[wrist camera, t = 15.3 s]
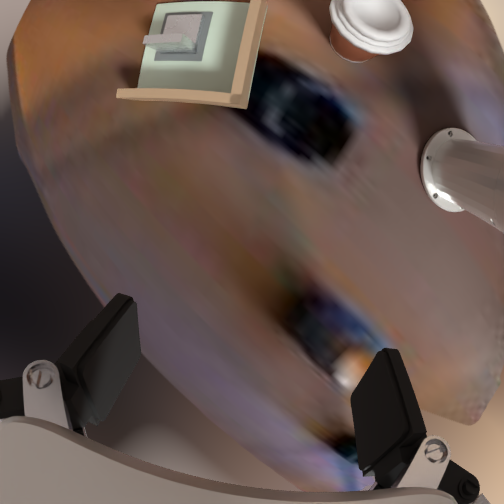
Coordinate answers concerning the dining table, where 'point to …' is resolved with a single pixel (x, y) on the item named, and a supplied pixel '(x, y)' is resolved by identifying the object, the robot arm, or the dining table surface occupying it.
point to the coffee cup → (369, 28)
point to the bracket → (178, 35)
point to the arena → (204, 56)
